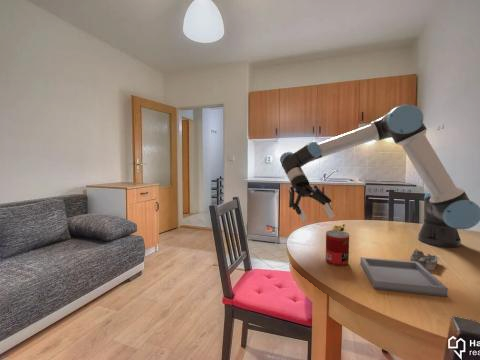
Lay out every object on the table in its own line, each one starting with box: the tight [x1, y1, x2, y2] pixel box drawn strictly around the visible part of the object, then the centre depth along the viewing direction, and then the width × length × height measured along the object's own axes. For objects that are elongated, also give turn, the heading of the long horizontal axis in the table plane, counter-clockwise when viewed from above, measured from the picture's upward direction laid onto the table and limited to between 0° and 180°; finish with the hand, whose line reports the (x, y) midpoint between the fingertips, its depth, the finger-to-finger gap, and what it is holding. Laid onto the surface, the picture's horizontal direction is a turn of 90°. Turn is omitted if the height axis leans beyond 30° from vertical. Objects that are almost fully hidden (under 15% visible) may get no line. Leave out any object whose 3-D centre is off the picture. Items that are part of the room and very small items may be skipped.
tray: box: [359, 256, 449, 298], centre depth 77 cm, size 18×18×2 cm
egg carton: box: [409, 248, 440, 271], centre depth 87 cm, size 11×8×4 cm
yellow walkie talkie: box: [332, 224, 346, 231], centre depth 136 cm, size 5×2×15 cm
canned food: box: [325, 229, 350, 267], centre depth 90 cm, size 8×8×11 cm
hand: (319, 219), depth 99 cm, fingers open, 13 cm apart
